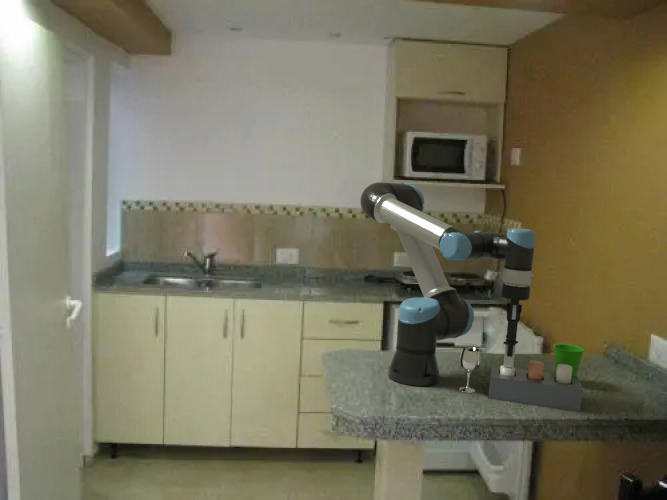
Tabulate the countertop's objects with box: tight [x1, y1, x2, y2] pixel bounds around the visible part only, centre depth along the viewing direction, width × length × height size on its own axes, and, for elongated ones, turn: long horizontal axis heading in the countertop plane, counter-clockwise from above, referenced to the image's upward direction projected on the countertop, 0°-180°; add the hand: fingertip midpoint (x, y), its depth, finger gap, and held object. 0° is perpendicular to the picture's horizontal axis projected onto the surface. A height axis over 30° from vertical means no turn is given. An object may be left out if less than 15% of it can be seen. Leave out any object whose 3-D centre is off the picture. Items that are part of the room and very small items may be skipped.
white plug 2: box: [555, 364, 572, 384], centre depth 180 cm, size 4×4×7 cm
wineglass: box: [459, 346, 481, 394], centre depth 184 cm, size 6×6×12 cm
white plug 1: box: [500, 364, 516, 376], centre depth 184 cm, size 4×4×7 cm
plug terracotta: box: [527, 359, 545, 380], centre depth 182 cm, size 4×4×7 cm
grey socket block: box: [488, 364, 584, 412], centre depth 182 cm, size 24×12×6 cm, turn 75°
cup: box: [552, 343, 585, 377], centre depth 197 cm, size 9×9×11 cm
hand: (508, 366), depth 183 cm, fingers closed
